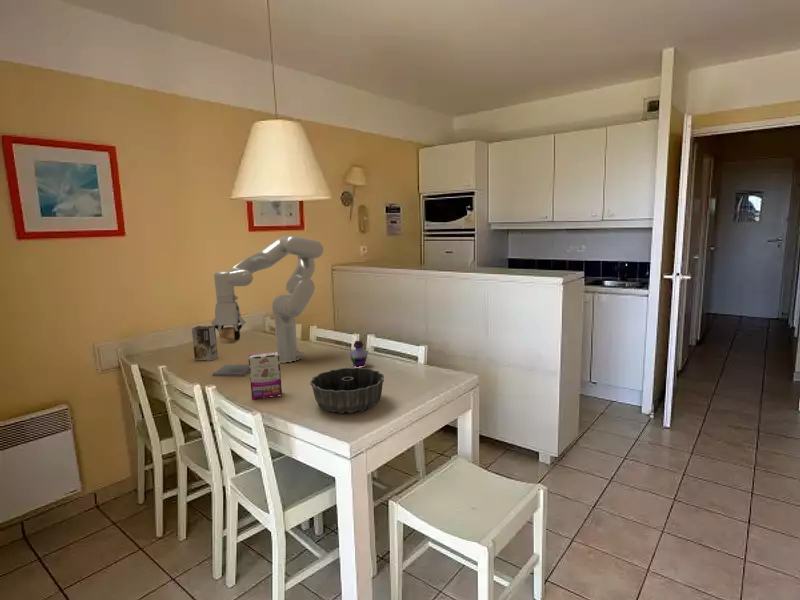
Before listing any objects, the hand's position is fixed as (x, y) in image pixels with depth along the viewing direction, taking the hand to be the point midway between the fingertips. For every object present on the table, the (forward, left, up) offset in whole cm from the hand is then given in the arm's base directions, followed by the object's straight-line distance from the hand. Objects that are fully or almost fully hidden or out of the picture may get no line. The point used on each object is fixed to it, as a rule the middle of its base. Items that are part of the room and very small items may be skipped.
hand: (230, 339), depth 207 cm
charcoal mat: (-1, -1, -15) cm, 15 cm away
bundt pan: (-60, +35, -15) cm, 71 cm away
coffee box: (+22, -20, -15) cm, 34 cm away
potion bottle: (-56, -10, -15) cm, 58 cm away
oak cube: (0, 0, -1) cm, 1 cm away
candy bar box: (-27, +28, -15) cm, 42 cm away
